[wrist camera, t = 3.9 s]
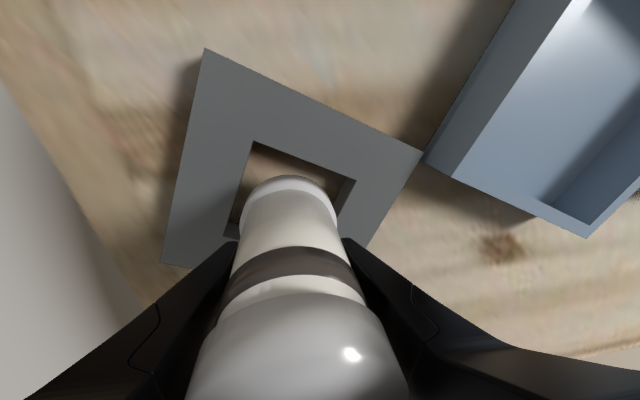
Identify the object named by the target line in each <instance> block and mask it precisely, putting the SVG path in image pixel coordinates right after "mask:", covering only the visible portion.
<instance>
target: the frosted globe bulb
mask: <svg viewBox="0 0 640 400" xmlns="http://www.w3.org/2000/svg"><path fill="white" fill-rule="evenodd" d="M239 230H240V236H241V237H240V241H239V244H238V248H237V252H236V255H235V259H234V263H233V267H232V270H231V274H230V278H229V280H228V282H227V284H226V286H225V289H224V292H223V296H222V300H221V303H220V307H219V310H218V314H217V317H216V321H215V325H214V329H213V330H212V331H211V332H210V333H209V334H208V336H207V337H206V339H205V340H204V342H203V344H202V346H201V348H200V350H199V354H198V357H197V360H196V363H195V367H194V370H193V373H192V376H191V379H190V383H189V386H188V389H187V392H186V396H185V399H184V400H409V389H408V385H407V382H406V380H405V378H404V375H403V373H402V370H401V368H400V366H399V363H398V361H397V359H396V356H395V354H394V351H393V349H392V347H391V344H390V342H389V340H388V337H387V335H386V332H385V330H384V328H383V325H382V324H381V322H380V320H379V318H378V317H377V316H376V315H375V314H374V313H373V312H372V311H371V310H370V309H369V308H368V305H367V302H366V299H365V297H364V294H363V292H362V289H361V287H360V284H359V281H358V279H357V276H356V274H355V272H354V271H353V269H352V268H351V265H350V263H349V260H348V258H347V255H346V252H345V250H344V247H343V244H342V242H341V239H340V237H339V234H338V231H337V219H336V214H335V211H334V209H333V206H332V204H331V202H330V199H329V197H328V195H327V194H326V192H325V191H324V190H323V189H322V188H321V187H320V186H319V185H318V184H317V183H315V182H313V181H312V180H310V179H307V178H305V177H301V176H296V175H281V176H276V177H273V178H270V179H268V180H266V181H264V182H262V183H261V184H259V185H258V186H257V187H256V188H254V190H253V191H252V192H251V193H250V195H249V196H248V198H247V200H246V202H245V205H244V208H243V212H242V215H241V219H240V224H239Z"/></svg>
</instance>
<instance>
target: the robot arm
mask: <svg viewBox="0 0 640 400" xmlns="http://www.w3.org/2000/svg"><path fill="white" fill-rule="evenodd" d="M341 242H342V244H343V247H344V250H345V252H346V255H347V258H348V260H349V263H350V265H351V268H352V269H353V271H354V272H355V274H356V276H357V279H358V281H359V284H360V287H361V289H362V292H363V294H364V297H365V299H366V302H367V305H368V308H369V309H370V310H371V311H372V312H373V313H374V314H375V315H376V316H377V317H378V318H379V320H380V322H381V324H382V325H383V328H384V330H385V332H386V335H387V337H388V340H389V342H390V344H391V347H392V349H393V351H394V354H395V356H396V359H397V361H398V363H399V366H400V368H401V370H402V373H403V375H404V378H405V380H406V382H407V385H408V389H409V400H640V371H638V370H630V369H624V368H618V367H612V366H607V365H602V364H597V363H592V362H587V361H582V360H577V359H572V358H567V357H562V356H557V355H552V354H547V353H542V352H537V351H532V350H527V349H522V348H518V347H515V346H512V345H510V344H507V343H505V342H503V341H501V340H498V339H497V338H495V337H493V336H491V335H490V334H488V333H487V332H485V331H483V330H482V329H480V328H479V327H477V326H475V325H474V324H472V323H471V322H469V321H468V320H466V319H464V318H463V317H461V316H460V315H458V314H456V313H455V312H453V311H452V310H450V309H449V308H447V307H446V306H444V305H443V304H441V303H439V302H438V301H436V300H435V299H434V298H432V297H431V296H429V295H428V294H426V293H425V292H424V291H422V290H421V289H419V288H418V287H417V286H415V285H413V283H411V282H410V281H409V280H407V279H406V278H404V277H403V276H402V275H400V274H399V273H398V272H396V271H395V270H394V269H392V268H391V267H389V266H388V265H387V264H385V263H384V262H383V261H381V260H380V259H379V258H377V257H376V256H375V255H373V254H372V253H370V252H369V251H368V250H366V249H365V248H364V247H362V246H361V245H360V244H358V243H357V242H355V241H354V240H353V239H351V238H349V237H347V238H341ZM238 244H239V243H238V241H227V242H226V243H224V244H223V245H222V246H221V247H220V248H219V249H217V250H216V251H215V252H214V253H213V254H211V255H210V256H209V257H208V258H207V259H205V260H204V261H203V262H202V263H201V264H199V265H198V266H197V267H196V268H195V269H194V270H192V271H191V272H190V273H189V274H188V275H186V276H185V277H184V278H183V279H182V280H180V281H179V282H178V283H177V284H176V285H174V286H173V287H172V288H171V289H170V290H169V291H167V292H166V293H165V294H164V295H163V296H161V297H160V298H159V299H158V300H157V301H156V302H155V303H153V304H152V305H151V306H149V307H148V308H147V309H146V310H145V311H143V312H142V313H141V314H140V315H138V316H137V317H136V318H135V319H133V321H131V322H130V323H129V324H127V325H126V326H125V327H124V328H122V329H121V330H119V331H118V332H117V333H115V334H114V335H113V336H112V337H110V338H109V339H108V340H106V341H105V342H104V343H102V344H101V345H99V346H98V347H97V348H95V349H94V350H93V351H91V352H90V353H88V354H87V355H86V356H85V357H83V358H82V359H80V360H79V361H78V362H76V363H75V364H74V365H72V366H71V367H70V368H68V369H67V370H65V371H64V372H62V373H61V374H60V375H58V376H57V377H56V378H54V379H53V380H51V381H50V382H49V383H48V384H46V385H45V386H43V387H42V388H40V389H39V390H37V391H36V392H35V393H33V394H32V395H30V396H28V397H27V398H25V399H24V400H184V399H185V396H186V392H187V389H188V386H189V383H190V379H191V376H192V373H193V370H194V367H195V363H196V360H197V357H198V354H199V350H200V348H201V346H202V344H203V342H204V340H205V339H206V337H207V336H208V334H209V333H210V332H211V331H212V330H213V329H214V325H215V321H216V317H217V314H218V310H219V307H220V303H221V300H222V296H223V292H224V289H225V286H226V284H227V282H228V280H229V278H230V274H231V270H232V267H233V263H234V259H235V255H236V252H237V248H238Z"/></svg>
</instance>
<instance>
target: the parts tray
mask: <svg viewBox="0 0 640 400" xmlns="http://www.w3.org/2000/svg"><path fill="white" fill-rule="evenodd" d="M420 161H422V162H424V163H426V164H427V165H429V166H431V167H433V168H435V169H437V170H439V171H440V172H442V173H444V174H446V175H448V176H450V177H452V178H454V179H456V180H458V181H460V182H463V183H465V184H467V185H469V186H471V187H474V188H476V189H478V190H480V191H482V192H485V193H487V194H489V195H491V196H493V197H496V198H498V199H500V200H502V201H504V202H506V203H509V204H511V205H513V206H515V207H517V208H520V209H522V210H524V211H526V212H528V213H531V214H533V215H535V216H537V217H539V218H541V219H544V220H546V221H548V222H550V223H552V224H555V225H557V226H559V227H561V228H563V229H566V230H568V231H570V232H572V233H574V234H576V235H579V236H581V237H583V238H585V239H587V238H588V237H589V236H590V235H591V234H592V233H593V232H594V231H595V230H596V229H597V228H598V227H599V226H600V225H601V224H602V223H603V222H604V221H605V220H606V219H607V218H608V217H610V216H611V215H612V214H613V213H614V212H615V211H616V210H617V209H618V208H619V207H620V206H621V205H622V204H623V203H624V202H625V201H626V200H627V199H628V198H629V197H630V196H631V195H632V194H633V193H634V192H635V191H636V190H637V189H638V188H639V187H640V0H516V1H515V2H514V4H513V6H512V7H511V9H510V11H509V12H508V14H507V16H506V17H505V19H504V21H503V22H502V24H501V25H500V27H499V29H498V30H497V32H496V34H495V35H494V37H493V39H492V40H491V42H490V43H489V45H488V47H487V48H486V50H485V52H484V53H483V55H482V57H481V58H480V60H479V62H478V63H477V65H476V66H475V68H474V70H473V71H472V73H471V75H470V76H469V78H468V80H467V81H466V83H465V84H464V86H463V88H462V89H461V91H460V93H459V94H458V96H457V98H456V99H455V101H454V103H453V104H452V106H451V107H450V109H449V111H448V112H447V114H446V116H445V117H444V119H443V121H442V122H441V124H440V125H439V127H438V129H437V130H436V132H435V134H434V135H433V137H432V139H431V140H430V142H429V144H428V145H427V147H426V148H425V150H424V154H423V155H422V157H421V158H420Z"/></svg>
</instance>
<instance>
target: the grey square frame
mask: <svg viewBox="0 0 640 400" xmlns="http://www.w3.org/2000/svg"><path fill="white" fill-rule="evenodd" d="M254 141H256V142H259V143H262V144H264V145H267V146H269V147H272V148H274V149H277V150H280V151H282V152H285V153H287V154H290V155H293V156H295V157H298V158H300V159H303V160H306V161H308V162H311V163H313V164H316V165H318V166H321V167H324V168H326V169H329V170H331V171H334V172H337V173H339V174H342V175H344V176H347V177H346V179H345V181H344V183H343V185H342V187H341V189H340V191H339V193H338V195H337V197H336V199H335V201H334V203H333V205H332V206H333V209H334V211H335V214H336V219H337V231H338V234H339V237H340V239H341V238H347V237H349V238H351V239H353V240H354V241H355V242H357V243H358V244H360V245H361V246H362V247H364V248H366V247H367V245H368V244H369V242H370V240H371V239H372V237H373V235H374V234H375V232H376V230H377V229H378V227H379V226H380V224H381V222H382V221H383V219H384V217H385V216H386V214H387V212H388V211H389V209H390V208H391V206H392V204H393V203H394V201H395V199H396V198H397V196H398V194H399V193H400V191H401V190H402V188H403V186H404V185H405V183H406V181H407V180H408V178H409V176H410V175H411V173H412V172H413V170H414V168H415V167H416V165H417V163H418V162H419V160H420V158H421V157H422V155H423V154H424V152H422V151H420V150H418V149H416V148H414V147H412V146H410V145H407V144H405V143H403V142H401V141H399V140H397V139H395V138H393V137H391V136H389V135H387V134H384V133H382V132H380V131H378V130H376V129H374V128H372V127H370V126H368V125H366V124H364V123H361V122H359V121H357V120H355V119H353V118H351V117H349V116H347V115H345V114H343V113H341V112H338V111H336V110H334V109H332V108H330V107H328V106H326V105H324V104H322V103H320V102H318V101H315V100H313V99H311V98H309V97H307V96H305V95H303V94H301V93H299V92H297V91H294V90H292V89H290V88H288V87H286V86H284V85H282V84H280V83H278V82H276V81H274V80H271V79H269V78H267V77H265V76H263V75H261V74H259V73H257V72H255V71H253V70H251V69H248V68H246V67H244V66H242V65H240V64H238V63H236V62H234V61H232V60H230V59H228V58H225V57H223V56H221V55H219V54H217V53H215V52H213V51H211V50H209V49H207V48H205V47H204V52H203V56H202V61H201V66H200V71H199V76H198V80H197V85H196V90H195V95H194V100H193V104H192V109H191V114H190V119H189V124H188V128H187V133H186V138H185V143H184V148H183V152H182V157H181V162H180V167H179V172H178V177H177V181H176V186H175V191H174V196H173V201H172V205H171V210H170V215H169V220H168V225H167V229H166V234H165V239H164V244H163V249H162V253H161V258H160V262H161V263H166V264H171V265H176V266H181V267H186V268H191V269H195V268H196V267H197V266H198V265H199V264H201V263H202V262H203V261H204V260H205V259H207V258H208V257H209V256H210V255H211V254H213V253H214V252H215V251H216V250H217V249H219V248H220V247H221V246H222V245H223V244H224V243H226V242H227V241H238V243H239V241H240V237H241V236H240V230H239V225H238V224H234V223H230V222H228V221H229V217H230V214H231V211H232V208H233V205H234V202H235V199H236V196H237V193H238V190H239V186H240V183H241V180H242V177H243V174H244V171H245V168H246V165H247V162H248V158H249V155H250V152H251V149H252V146H253V143H254Z"/></svg>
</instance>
